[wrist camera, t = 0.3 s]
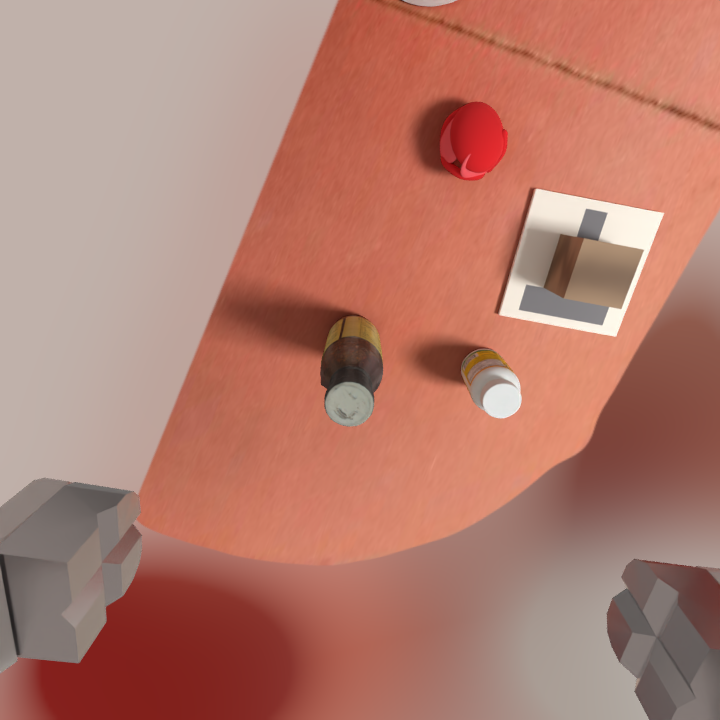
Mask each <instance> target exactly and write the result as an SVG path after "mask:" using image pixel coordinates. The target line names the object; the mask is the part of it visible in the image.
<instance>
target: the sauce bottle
mask: <svg viewBox="0 0 720 720" xmlns="http://www.w3.org/2000/svg"><path fill="white" fill-rule="evenodd" d="M320 375H321V385H322V386H324V387H325V388H327V391H326V394H325V409H326V413H327V414H328V415H329V417H330V418H331V419H332V420H333V421H334V422H336V423H338V424H340V425H343V426H357V425H360V424H362V423H364V422H365V421H366V420H367V419H368V418H369V417H370V416H371V414H372V412H373V408H374V394H373V393H374V392H375V391H376V390H377V388H378V386H379V385H380V382H381V379H382V375H383V361H382V351H381V344H380V337H379V334H378V331H377V329H376V328H375V326H374V325H373V324H372V323H371V322H370V321H368V320H367V319H366V318H365V317H362V316H357V315H356V316H345V317H343V318H341V319H339V320H338V321H337V322H336V323H335V324H334V325H333V327H332V328H331V329H330V331H329V334H328V338H327V341H326V345H325V349H324V353H323V356H322V361H321V372H320Z"/></svg>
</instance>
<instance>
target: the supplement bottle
mask: <svg viewBox="0 0 720 720" xmlns="http://www.w3.org/2000/svg"><path fill="white" fill-rule="evenodd" d="M461 375H462V378H463V380H464V382H465V384H466V386H467V389H468V391H469V393H470V395H471V398H472V400H473V401H474V403H475V404H476V405H477V406H478V407H479V408H481V409H482V410H484V411H486V413H488V414H489V415H490V416H492V417H495V418H506V417H509V416H511V415H513V414H514V413H515V412H516V411H517V410H518V409H519V407H520V405H521V394H520V383H519V380H518V378H517V376H516V375H515V374H514V372H513V371H512V370H511V368H510V367H509V366H508V365H507V363H506V362H505V361H504V359H503V358H502V357H501V356H500V355H499V354H498V353H497V352H495V351H494V350H491V349H477V350H475V351H473V352H471V353H470V354H468V355H467V356H466V357H465V359H464V360H463V362H462V366H461Z"/></svg>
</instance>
